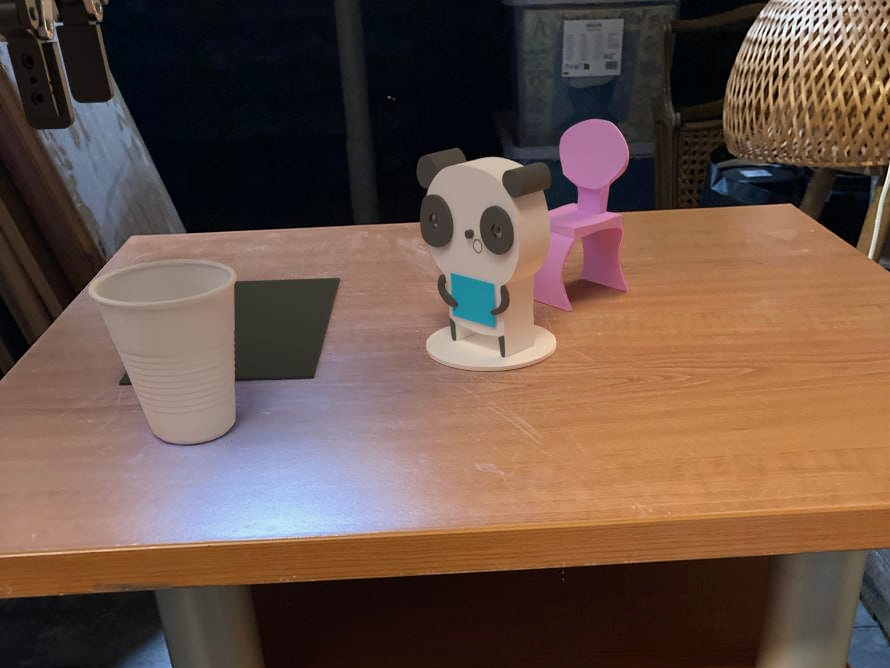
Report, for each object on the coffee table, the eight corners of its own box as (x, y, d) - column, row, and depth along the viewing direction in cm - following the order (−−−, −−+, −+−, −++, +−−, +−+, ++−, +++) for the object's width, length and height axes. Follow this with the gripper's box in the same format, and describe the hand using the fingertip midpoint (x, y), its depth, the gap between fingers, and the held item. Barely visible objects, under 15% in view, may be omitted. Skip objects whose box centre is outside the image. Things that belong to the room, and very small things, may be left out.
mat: (313, 378, 82) (313, 375, 82) (119, 384, 82) (118, 382, 82) (339, 279, 103) (339, 277, 103) (184, 284, 103) (184, 282, 102)
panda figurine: (394, 346, 87) (379, 160, 78) (484, 313, 94) (480, 137, 85) (492, 382, 80) (488, 182, 71) (582, 343, 87) (590, 155, 78)
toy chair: (512, 295, 97) (511, 125, 88) (575, 275, 102) (580, 111, 93) (573, 315, 92) (579, 137, 83) (636, 293, 97) (648, 122, 88)
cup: (287, 413, 77) (265, 266, 70) (207, 468, 69) (174, 311, 63) (183, 393, 80) (153, 252, 73) (97, 444, 73) (55, 293, 66)
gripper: (-50, -285, 49) (46, 95, 59) (-199, -339, 37) (-48, 144, 47) (104, -289, 49) (174, 91, 59) (1, -344, 38) (110, 139, 47)
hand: (74, 113), depth 53 cm, fingers open, 7 cm apart
